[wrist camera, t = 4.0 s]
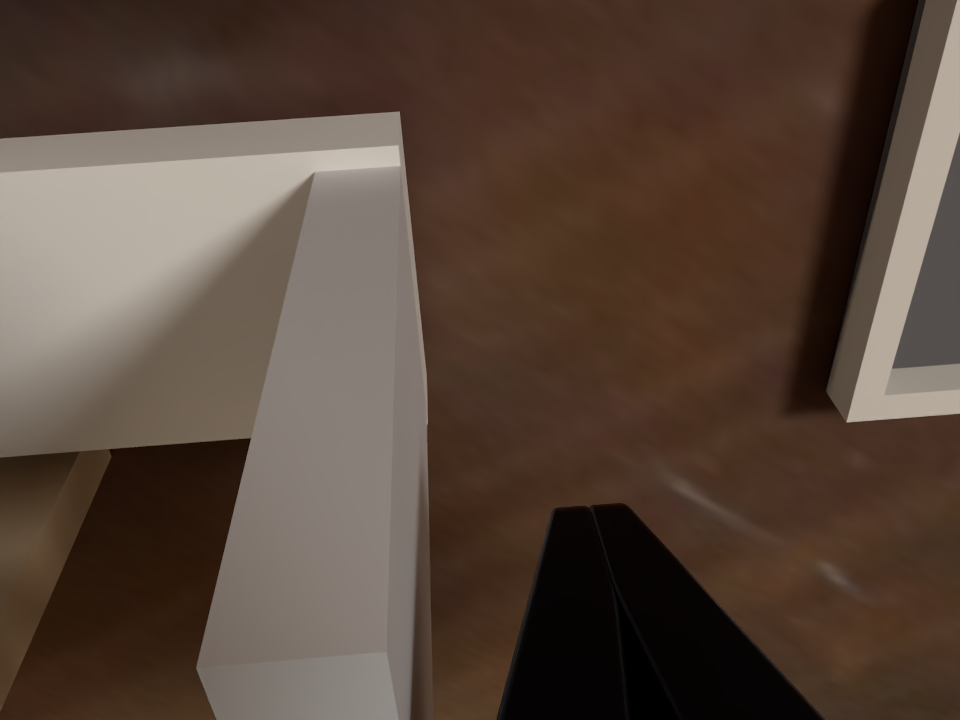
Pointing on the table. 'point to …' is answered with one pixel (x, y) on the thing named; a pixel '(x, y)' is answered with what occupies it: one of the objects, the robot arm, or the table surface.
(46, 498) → the tunnel
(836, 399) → the tray
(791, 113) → the table surface
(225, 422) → the white l-shaped base
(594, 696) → the robot arm
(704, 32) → the table surface
